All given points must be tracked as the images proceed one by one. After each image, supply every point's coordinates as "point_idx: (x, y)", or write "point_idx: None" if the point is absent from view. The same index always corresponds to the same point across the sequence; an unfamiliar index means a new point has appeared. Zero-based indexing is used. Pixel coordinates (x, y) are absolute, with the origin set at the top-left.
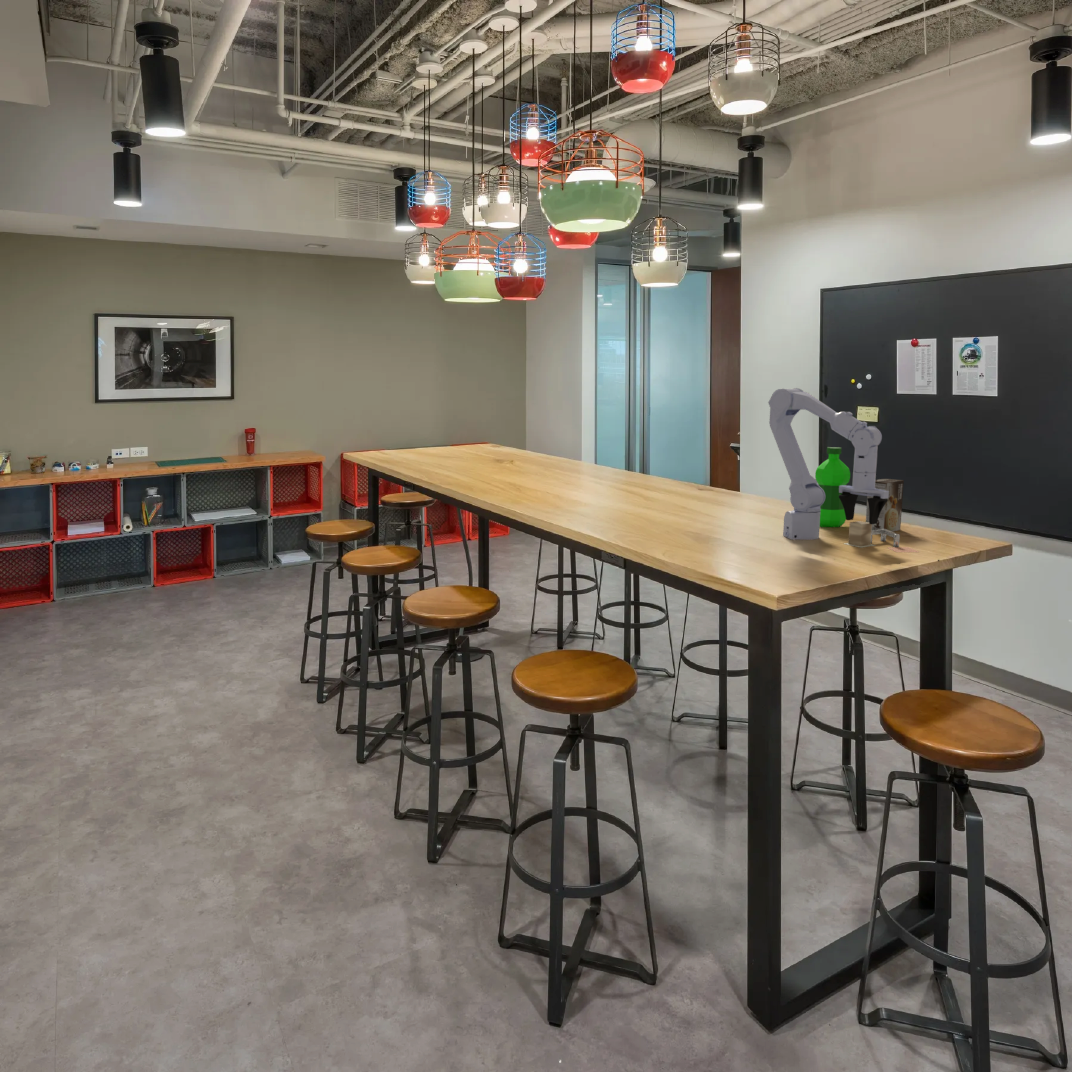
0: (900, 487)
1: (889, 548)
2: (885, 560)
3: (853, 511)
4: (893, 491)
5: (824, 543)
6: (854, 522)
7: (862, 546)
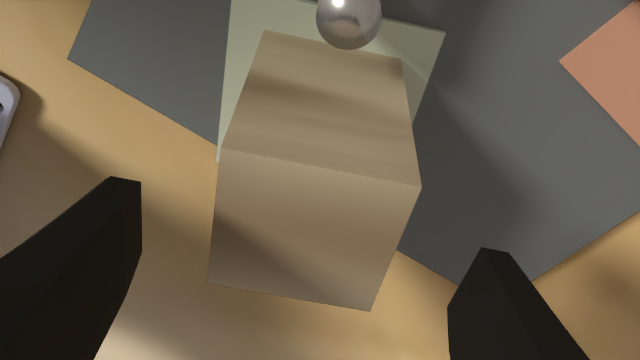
0: None
1: (593, 89)
2: (597, 279)
3: (86, 261)
4: None
5: (22, 82)
6: (244, 263)
7: None
